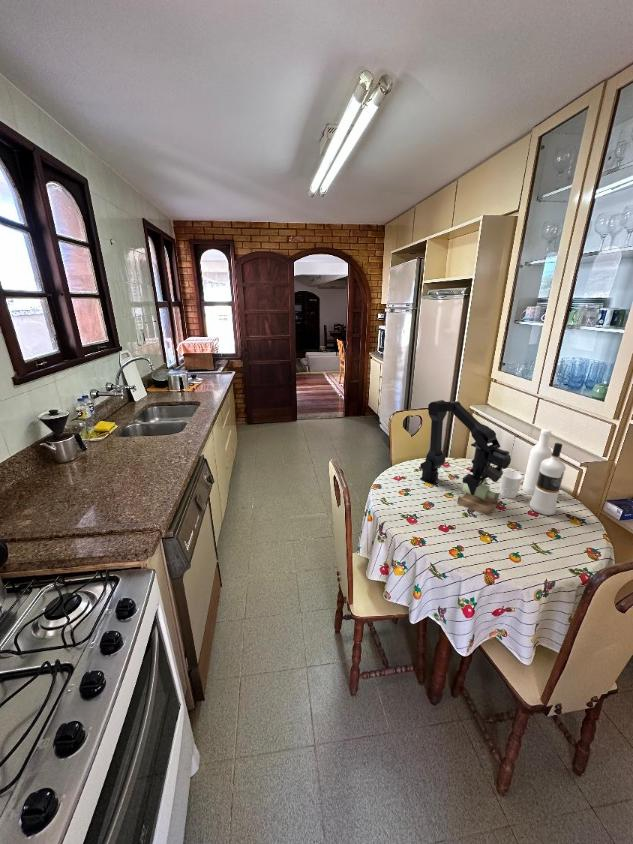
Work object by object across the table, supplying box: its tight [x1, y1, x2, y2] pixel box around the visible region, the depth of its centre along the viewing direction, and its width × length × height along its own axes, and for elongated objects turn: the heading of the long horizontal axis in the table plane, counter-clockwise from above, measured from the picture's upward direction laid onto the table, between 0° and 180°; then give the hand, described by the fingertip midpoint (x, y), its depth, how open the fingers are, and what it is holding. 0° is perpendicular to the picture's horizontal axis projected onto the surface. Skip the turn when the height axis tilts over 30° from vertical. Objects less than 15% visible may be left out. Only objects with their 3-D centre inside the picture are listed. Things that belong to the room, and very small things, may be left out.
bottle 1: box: [462, 483, 500, 501], centre depth 145 cm, size 13×6×6 cm, turn 46°
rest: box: [456, 493, 499, 517], centre depth 148 cm, size 13×10×3 cm
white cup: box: [499, 470, 523, 499], centre depth 154 cm, size 8×8×10 cm
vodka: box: [529, 442, 567, 516], centre depth 140 cm, size 9×9×30 cm
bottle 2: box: [521, 428, 553, 496], centre depth 154 cm, size 8×8×30 cm
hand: (475, 492), depth 147 cm, fingers closed on bottle 1, 6 cm apart
